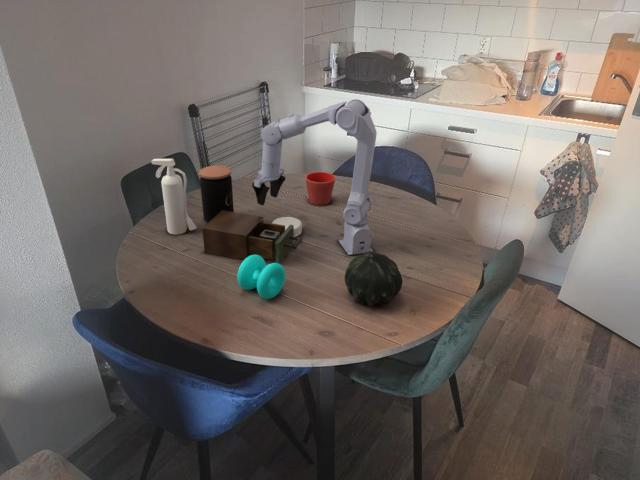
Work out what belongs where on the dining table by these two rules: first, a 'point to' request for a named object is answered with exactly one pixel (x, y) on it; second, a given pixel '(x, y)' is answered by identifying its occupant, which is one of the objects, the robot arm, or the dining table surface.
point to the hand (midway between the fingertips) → (267, 200)
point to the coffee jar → (216, 191)
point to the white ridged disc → (290, 221)
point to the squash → (373, 278)
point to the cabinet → (229, 234)
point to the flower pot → (320, 187)
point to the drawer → (266, 246)
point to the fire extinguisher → (174, 197)
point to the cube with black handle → (271, 237)
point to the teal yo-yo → (261, 276)
